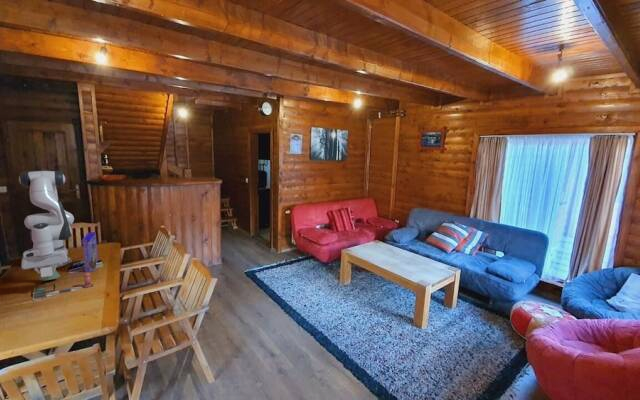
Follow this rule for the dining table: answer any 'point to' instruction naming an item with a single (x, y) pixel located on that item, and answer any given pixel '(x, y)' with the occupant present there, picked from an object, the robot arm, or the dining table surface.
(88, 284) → the pawn
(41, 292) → the dice tray
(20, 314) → the dining table surface
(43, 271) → the die
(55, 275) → the character figurine
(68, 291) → the track board
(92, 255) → the cereal box
